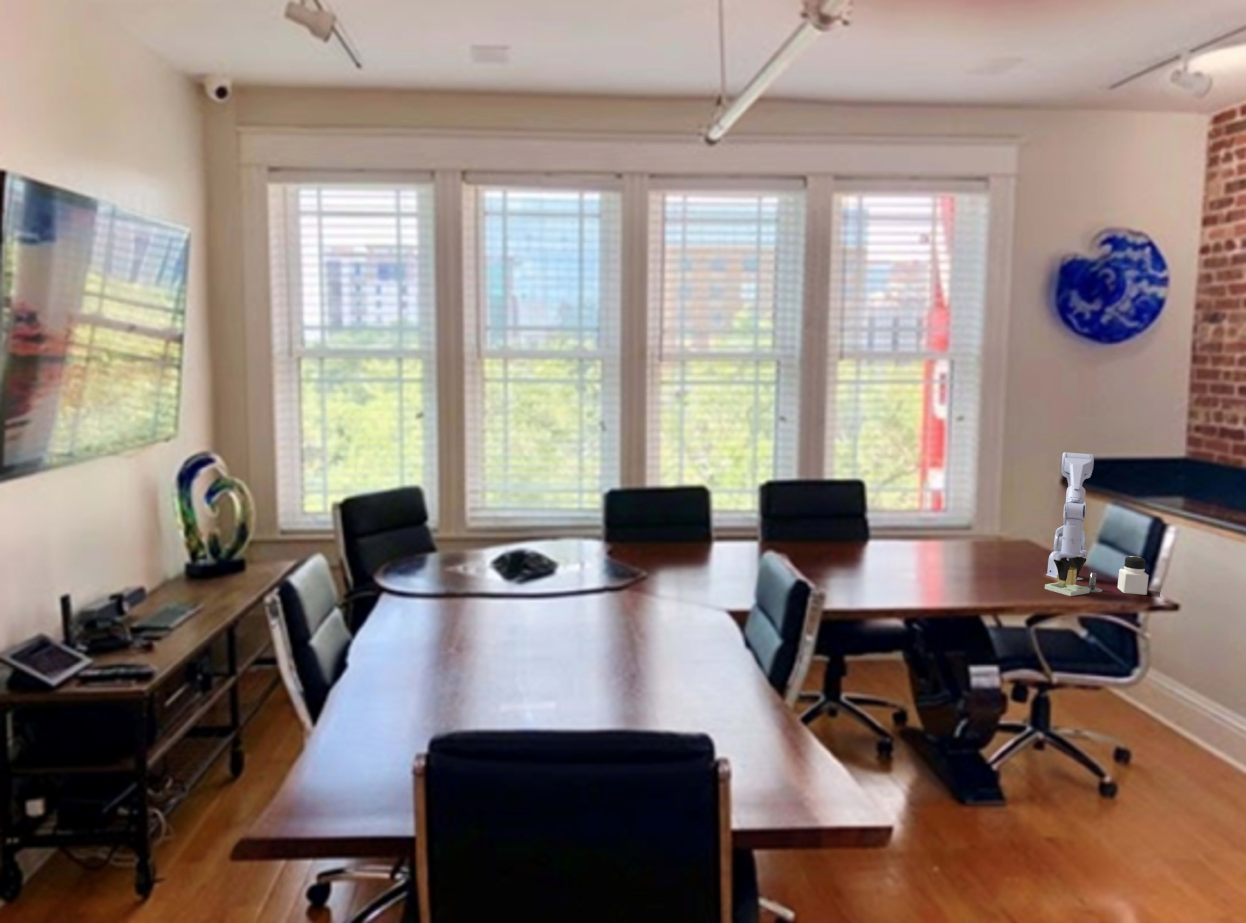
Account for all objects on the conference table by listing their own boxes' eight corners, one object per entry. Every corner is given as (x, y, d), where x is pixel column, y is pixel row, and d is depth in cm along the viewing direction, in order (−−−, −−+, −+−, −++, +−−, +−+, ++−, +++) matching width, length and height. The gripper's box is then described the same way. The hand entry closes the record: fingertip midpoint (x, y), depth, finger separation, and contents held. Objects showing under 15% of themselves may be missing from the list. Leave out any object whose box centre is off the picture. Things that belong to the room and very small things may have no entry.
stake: (1076, 589, 322) (1078, 571, 321) (1089, 587, 325) (1090, 570, 324) (1094, 594, 317) (1096, 576, 316) (1106, 592, 320) (1108, 574, 319)
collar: (1068, 585, 314) (1069, 570, 314) (1052, 581, 320) (1053, 566, 319) (1078, 583, 317) (1079, 569, 316) (1062, 580, 322) (1063, 565, 321)
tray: (1044, 590, 320) (1045, 584, 319) (1063, 587, 324) (1063, 581, 324) (1070, 597, 311) (1070, 591, 311) (1089, 594, 316) (1089, 588, 316)
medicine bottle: (1146, 596, 316) (1150, 560, 314) (1123, 594, 318) (1127, 559, 316) (1139, 590, 323) (1143, 555, 321) (1116, 589, 324) (1120, 554, 323)
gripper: (1068, 543, 308) (1064, 584, 310) (1097, 539, 315) (1093, 580, 317) (1049, 538, 315) (1045, 579, 316) (1077, 535, 322) (1074, 575, 323)
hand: (1068, 579), depth 317 cm, fingers closed on collar, 5 cm apart
